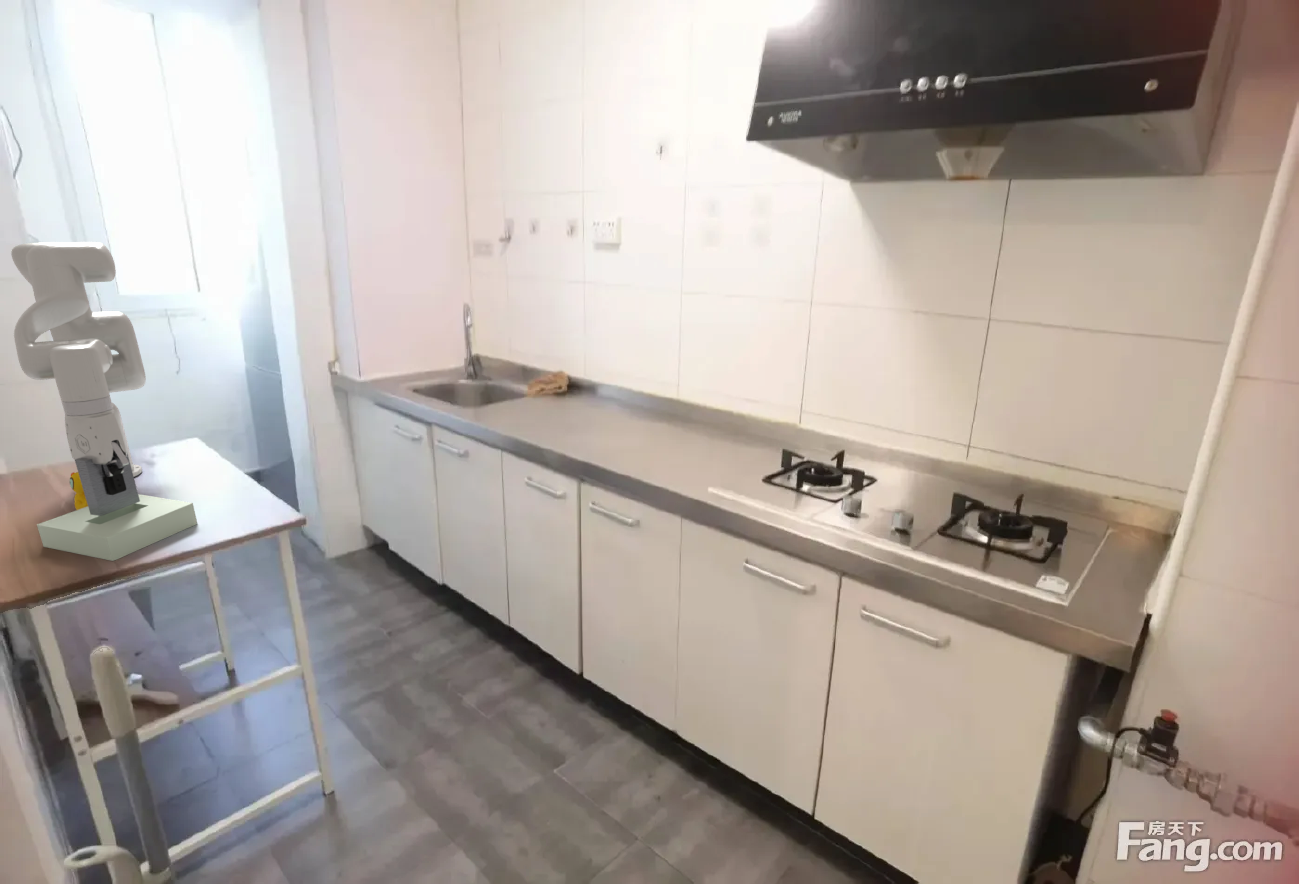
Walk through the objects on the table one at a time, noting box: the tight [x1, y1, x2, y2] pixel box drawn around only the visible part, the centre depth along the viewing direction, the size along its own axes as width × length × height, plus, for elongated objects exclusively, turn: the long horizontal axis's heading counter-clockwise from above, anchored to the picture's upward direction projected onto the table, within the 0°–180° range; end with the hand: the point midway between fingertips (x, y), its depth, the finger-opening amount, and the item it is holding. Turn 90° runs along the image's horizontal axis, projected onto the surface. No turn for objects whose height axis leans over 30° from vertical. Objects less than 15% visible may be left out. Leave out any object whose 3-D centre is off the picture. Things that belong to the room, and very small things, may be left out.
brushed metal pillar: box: [74, 454, 140, 516], centre depth 137 cm, size 3×8×12 cm, turn 162°
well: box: [36, 493, 198, 562], centre depth 140 cm, size 20×18×5 cm
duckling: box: [69, 471, 88, 511], centre depth 150 cm, size 11×5×10 cm, turn 59°
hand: (111, 490), depth 138 cm, fingers closed on brushed metal pillar, 3 cm apart
